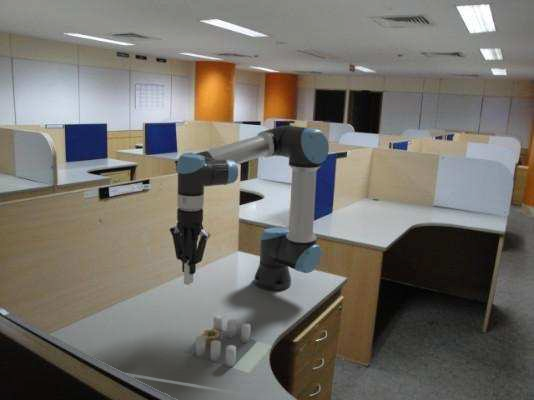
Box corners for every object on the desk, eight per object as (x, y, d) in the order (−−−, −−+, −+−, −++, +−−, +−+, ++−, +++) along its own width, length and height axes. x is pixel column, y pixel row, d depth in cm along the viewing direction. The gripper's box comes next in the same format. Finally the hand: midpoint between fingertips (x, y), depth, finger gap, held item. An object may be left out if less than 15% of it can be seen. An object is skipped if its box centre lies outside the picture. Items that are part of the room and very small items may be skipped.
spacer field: (213, 329, 145) (213, 313, 144) (272, 347, 137) (273, 330, 135) (184, 353, 131) (184, 336, 129) (248, 375, 122) (249, 357, 121)
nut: (205, 336, 139) (206, 327, 138) (220, 339, 138) (221, 330, 138) (200, 346, 134) (200, 337, 133) (215, 348, 133) (216, 339, 132)
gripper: (164, 206, 129) (163, 282, 135) (202, 214, 124) (199, 292, 129) (179, 202, 136) (178, 274, 141) (216, 208, 131) (213, 283, 136)
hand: (188, 282), depth 135 cm, fingers closed
